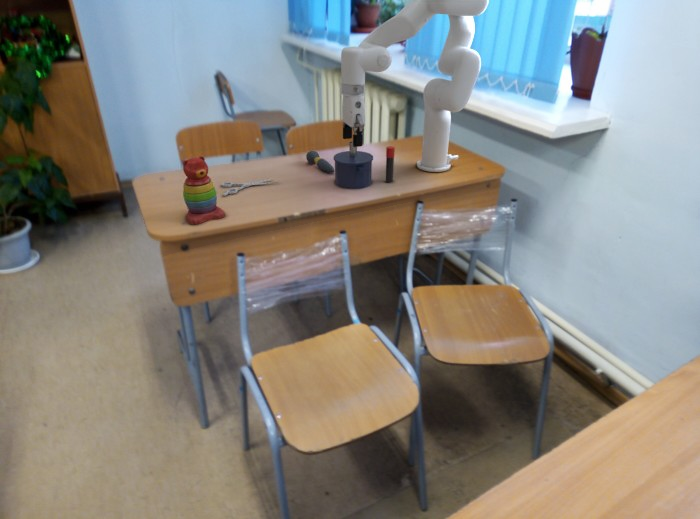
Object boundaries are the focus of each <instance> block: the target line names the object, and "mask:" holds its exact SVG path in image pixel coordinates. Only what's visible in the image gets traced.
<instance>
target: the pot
mask: <svg viewBox="0 0 700 519" xmlns="http://www.w3.org/2000/svg"><path fill="white" fill-rule="evenodd" d="M372 163H373V160H372V161H371V162H369V163H366V164H362V165H345V164H340V163H337V162H335V161H334V183H335V185H336V186H338V187H340V188H343V189H349V190H351V189H352V190H353V189H354V190H356V189H363V188H367V187H369V186H370V185H371V184H372V174H373V173H372V170H373V169H372V167H373V166H372V165H373V164H372Z"/></svg>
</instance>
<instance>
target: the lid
mask: <svg viewBox="0 0 700 519" xmlns="http://www.w3.org/2000/svg"><path fill="white" fill-rule="evenodd" d="M348 143H349V146H348V147H349V150H346V151H341V152H337V153H335V154H334V155H333V161H334V163H335V162H337V163H340V164H345V165H362V164H366V163H369V162H371V161H372V162H373V160H374V155H373V154H371V153H369V152H366V151H362V150H358V147H353V140H352V141H349V142H348Z"/></svg>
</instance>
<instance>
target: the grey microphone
mask: <svg viewBox="0 0 700 519" xmlns="http://www.w3.org/2000/svg"><path fill="white" fill-rule="evenodd" d="M305 157H306V162H308V163H309V164H311V165H316V166H317V167H318V169H320V170H322V171H324V172H327V173H330V174H333V173H335V167H333V165H332V164H331V163H330V162H329V161H327V160H326V159H325V158H322V157H320V153H319V152H318V151H316V150H310V151H308V152H307V153H306V156H305Z"/></svg>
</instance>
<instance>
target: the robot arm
mask: <svg viewBox="0 0 700 519" xmlns="http://www.w3.org/2000/svg"><path fill="white" fill-rule="evenodd" d="M489 1H490V0H409V1H408V2H407V3H406V4H405V5H404V7H402V9H401V10H400V11H399V12H398V13H396V15H394V16H392V17H390V18H389V19H388V20H386V21H385V22H383V23H381V24H379V26H377V27H376V28H374V29H373V30H372V31H371V32H370V33H369V34H368V35H367V36H366V37H365V38H364V39H363V40H362V41H360V44H359V45H358V46H345V47H343V48H342V49H341V52H340V53H341V54H340V64H341V65H340V70H341V71H340V83H341V84H340V93H341V95H342V103H341V104H342V105H341V106H342V108H341V109H342V110H341V118H342V139H343V140H349V139H352V141H353V147H357V148H359V147H362V146H363V145H364V144H363V140H364V130H365V129H364V128H365V127H366V102H365V94H366V72H370V73H371V72H372V73H383V72H385V71H387V70H388V69H389V68H390V66H392V63H393V62H392V61H393V57H392V54H391V51H390V50H388V48H389V47H391V46H393V45H394V44H397V43H400V42H403V41H406V40H409V39H412V38H413V37H415V36H416V35H417V34H418V33H419V32H420V31H421V30H422V29H423V28H424V27H425V26H426V25H427V24H428V23H429V21H430V20H432V19H433V18H434V16H435V15H447V17H448V20H449V29H448V32H447V35H446V38H445V41H444V44H443V48H442V49H441V53H440V56H439V59H438V63H437V69H438V71H439V72H440V73H441V74H443V75H445V76H448V77H450V78H451V77H452V78H451V80H450V79H446V78H442V77H435V78H432V79H430V80H429V81H428V82H426V84H425V86H424V88H423V93H422V94H423V106H424V107H423V108H424V119H423V131H422V143H421V144H422V146H421V148H422V149H421V159H420V160H418V161H417V162H416V167H417V168H418V169H419V170H421V171H424V172H431V173H440V172H441V173H442V172H446V171H449V170H450V169H451V163H450V162H452V161H453V162H454V161H458V160H459V155H458V154H457V155H456V154H454V155H452V153H450V154H448V153H449V143H450V133H451V124H452V115H451V113H458V112H460V111H462V110H463V109H464V108H465V107H466V106H467V104H468V102H469V101H470V98H471V95H472V93H473V91H474V89H475V88H474V87H475V85H476V82H477V80H478V78H479V75H480V72H481V68H482V59H481V56H480V54H479V52H478V51H476V50H475V49H473V48H471V46H472V43H473V40H474V36H475V30H476V28H475V27H476V26H475V20H474V17H478V16H480V15H482V14H483V13H484V12H485V11H486V9H487V8H488V5H489Z"/></svg>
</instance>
